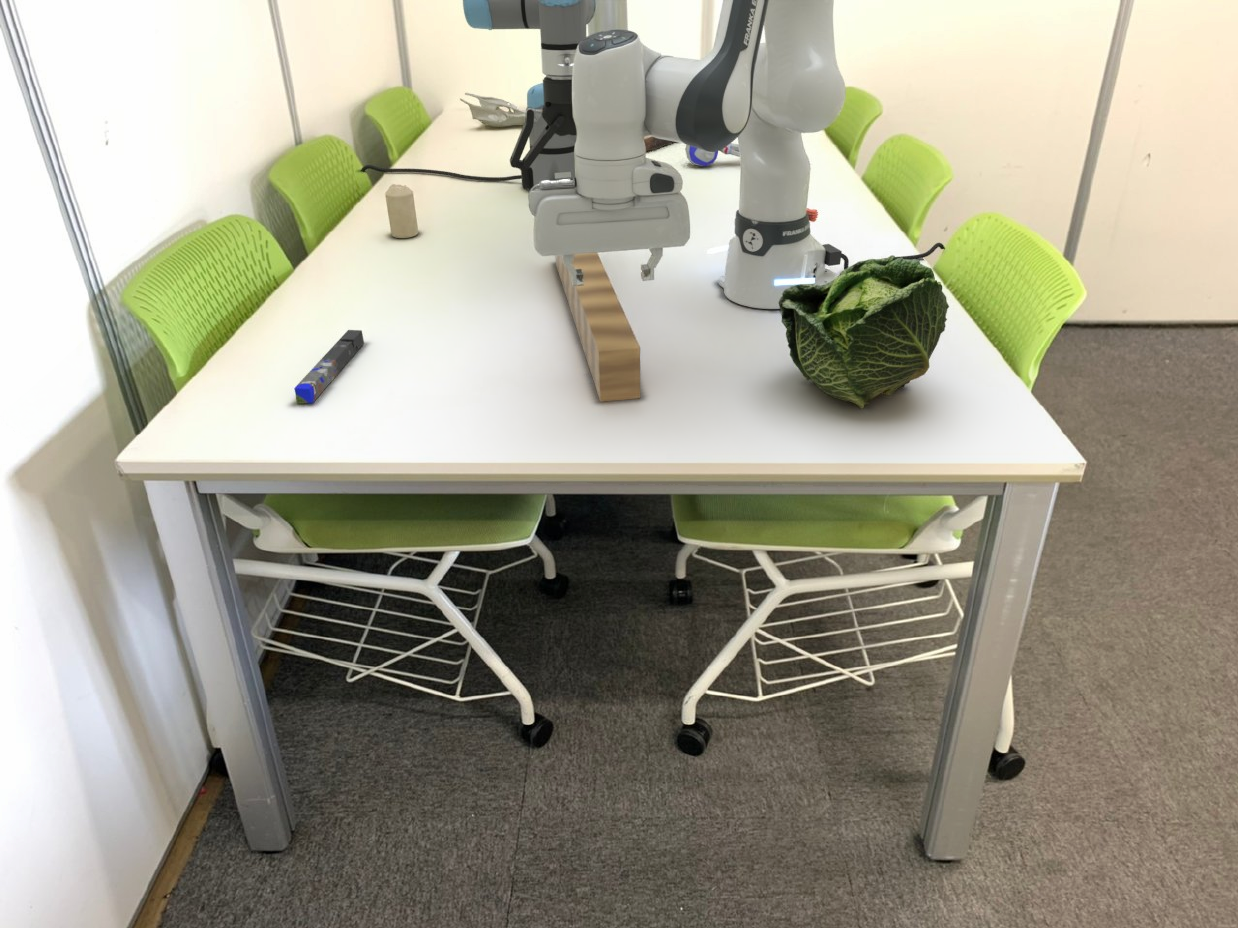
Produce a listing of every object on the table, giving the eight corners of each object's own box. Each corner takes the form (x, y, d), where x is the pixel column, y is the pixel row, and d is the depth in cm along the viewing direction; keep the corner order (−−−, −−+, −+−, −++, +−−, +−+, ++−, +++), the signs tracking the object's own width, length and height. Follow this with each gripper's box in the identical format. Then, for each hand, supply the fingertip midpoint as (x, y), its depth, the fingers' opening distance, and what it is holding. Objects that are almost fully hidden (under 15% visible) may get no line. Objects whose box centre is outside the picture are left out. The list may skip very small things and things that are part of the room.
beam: (555, 263, 169) (553, 224, 165) (584, 261, 170) (583, 222, 166) (600, 402, 123) (598, 351, 119) (640, 398, 123) (640, 347, 119)
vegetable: (809, 415, 132) (748, 301, 124) (914, 342, 133) (860, 224, 126) (882, 452, 114) (816, 321, 106) (1002, 367, 115) (946, 232, 107)
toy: (809, 146, 225) (693, 132, 220) (801, 180, 229) (687, 167, 224) (798, 137, 233) (686, 124, 229) (791, 170, 238) (681, 158, 233)
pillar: (361, 330, 139) (308, 390, 122) (364, 343, 140) (311, 404, 123) (348, 329, 139) (293, 389, 122) (350, 342, 140) (296, 403, 123)
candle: (423, 231, 187) (416, 182, 181) (409, 239, 182) (402, 190, 177) (400, 229, 188) (393, 180, 183) (386, 237, 184) (378, 187, 178)
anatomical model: (468, 90, 276) (547, 88, 273) (472, 121, 281) (549, 120, 278) (454, 100, 264) (536, 98, 260) (458, 132, 269) (539, 131, 265)
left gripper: (490, 82, 143) (501, 215, 154) (643, 76, 146) (643, 206, 158) (488, 75, 149) (498, 203, 160) (635, 69, 153) (635, 194, 164)
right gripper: (529, 188, 108) (536, 296, 115) (695, 177, 110) (692, 284, 118) (525, 174, 113) (532, 279, 120) (683, 165, 116) (681, 268, 123)
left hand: (570, 205), depth 159 cm, fingers open, 13 cm apart
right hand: (612, 282), depth 119 cm, fingers open, 8 cm apart
